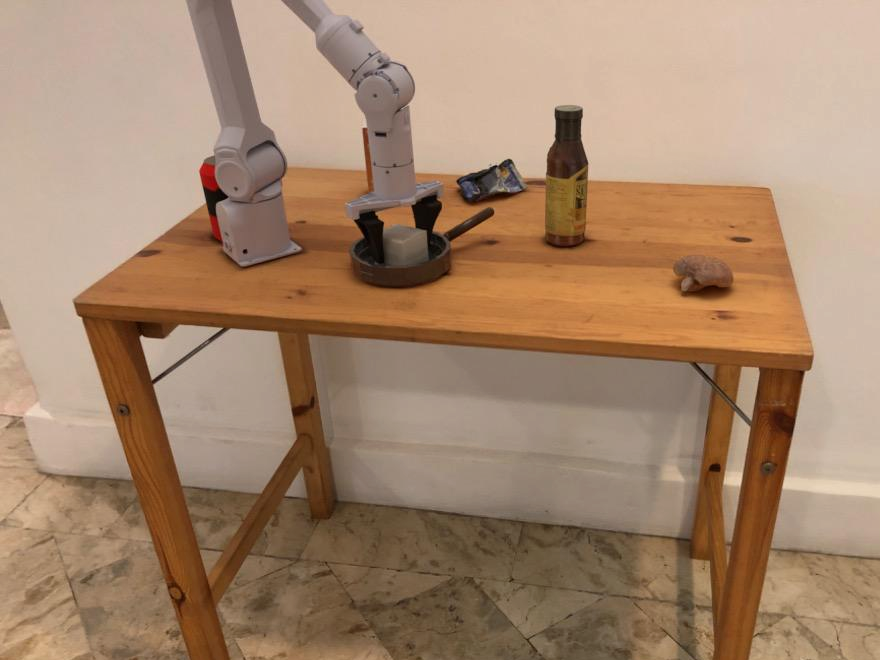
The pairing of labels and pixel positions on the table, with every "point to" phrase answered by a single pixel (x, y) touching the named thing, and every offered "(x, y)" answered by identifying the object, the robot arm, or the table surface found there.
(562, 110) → the sauce bottle
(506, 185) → the snack package
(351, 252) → the pan
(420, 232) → the small box
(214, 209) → the soda can
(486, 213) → the pan handle
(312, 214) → the table surface
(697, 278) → the mushroom
